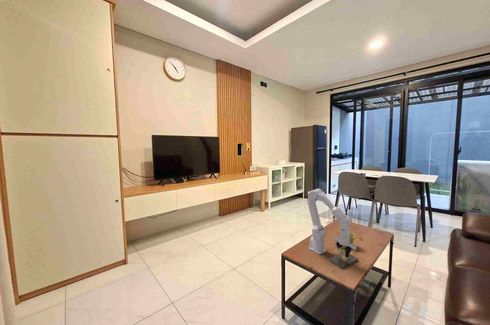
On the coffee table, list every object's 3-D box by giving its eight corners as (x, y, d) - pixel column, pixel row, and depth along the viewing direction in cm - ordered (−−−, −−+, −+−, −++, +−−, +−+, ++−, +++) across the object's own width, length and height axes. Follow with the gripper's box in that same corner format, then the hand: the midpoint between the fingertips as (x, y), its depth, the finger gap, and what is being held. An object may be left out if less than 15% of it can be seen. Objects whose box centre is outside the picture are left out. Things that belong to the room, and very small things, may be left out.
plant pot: (356, 245, 154) (356, 234, 153) (352, 250, 147) (353, 239, 146) (343, 241, 160) (343, 230, 159) (339, 246, 153) (339, 235, 152)
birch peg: (338, 259, 135) (338, 247, 134) (342, 257, 137) (342, 246, 136) (344, 262, 131) (344, 250, 130) (347, 260, 133) (348, 248, 133)
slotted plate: (328, 260, 134) (328, 258, 134) (344, 253, 143) (344, 251, 143) (342, 269, 126) (342, 266, 126) (358, 260, 134) (358, 258, 134)
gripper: (330, 232, 137) (330, 251, 138) (351, 241, 124) (350, 262, 126) (337, 230, 140) (336, 249, 142) (358, 238, 128) (357, 259, 129)
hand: (343, 255), depth 134 cm, fingers closed on birch peg, 4 cm apart
